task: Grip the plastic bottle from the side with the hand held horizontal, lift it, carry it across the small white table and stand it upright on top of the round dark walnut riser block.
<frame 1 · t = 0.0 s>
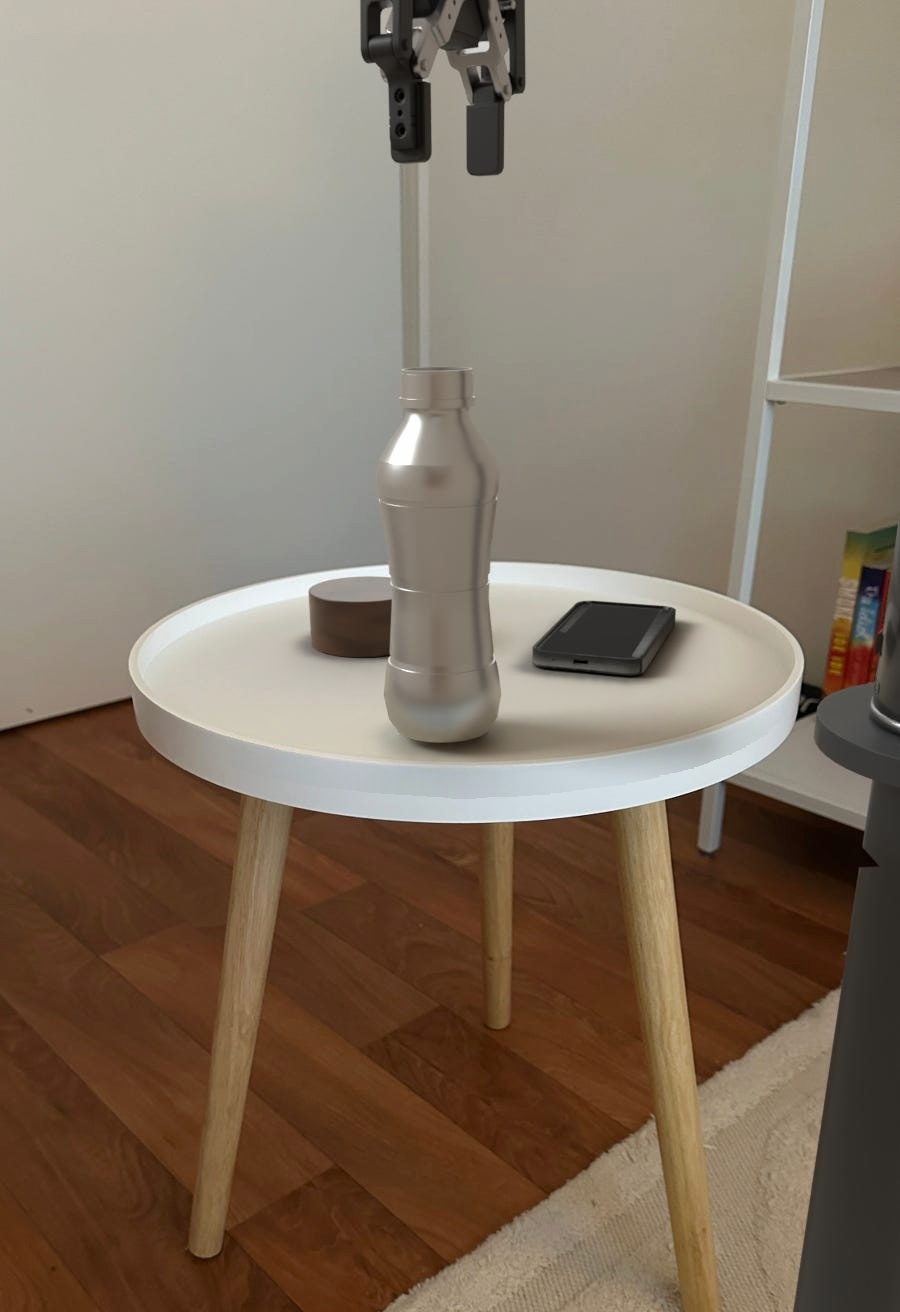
hand: (450, 169, 67), 30 cm above the table, tool pointing down, fingers open, 8 cm apart
walnut riser: (365, 642, 86), on the table
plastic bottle: (442, 739, 67), on the table
phone: (606, 644, 84), on the table
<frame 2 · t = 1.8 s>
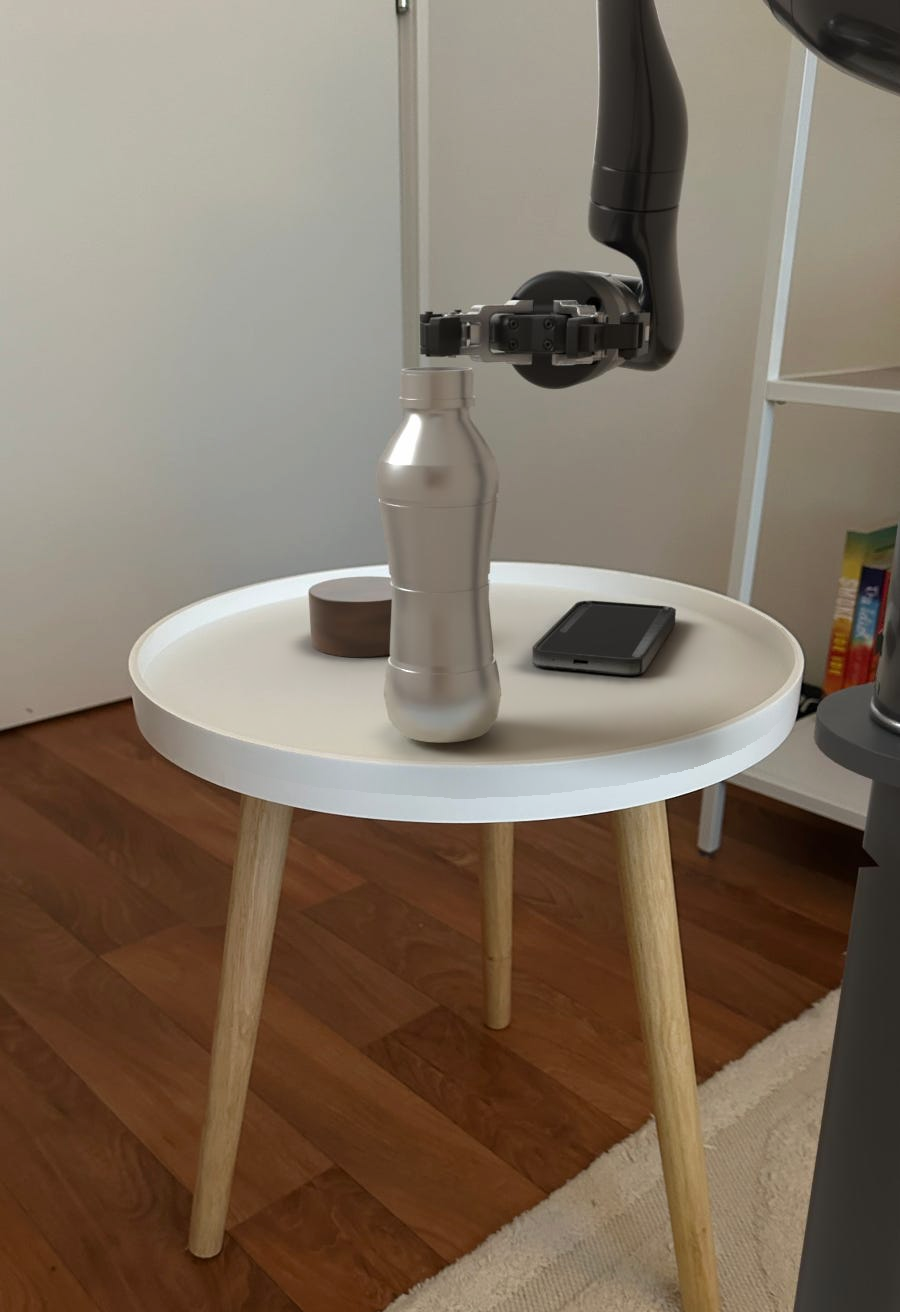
hand: (502, 338, 68), 21 cm above the table, tool horizontal, fingers open, 8 cm apart
nothing on the table moved.
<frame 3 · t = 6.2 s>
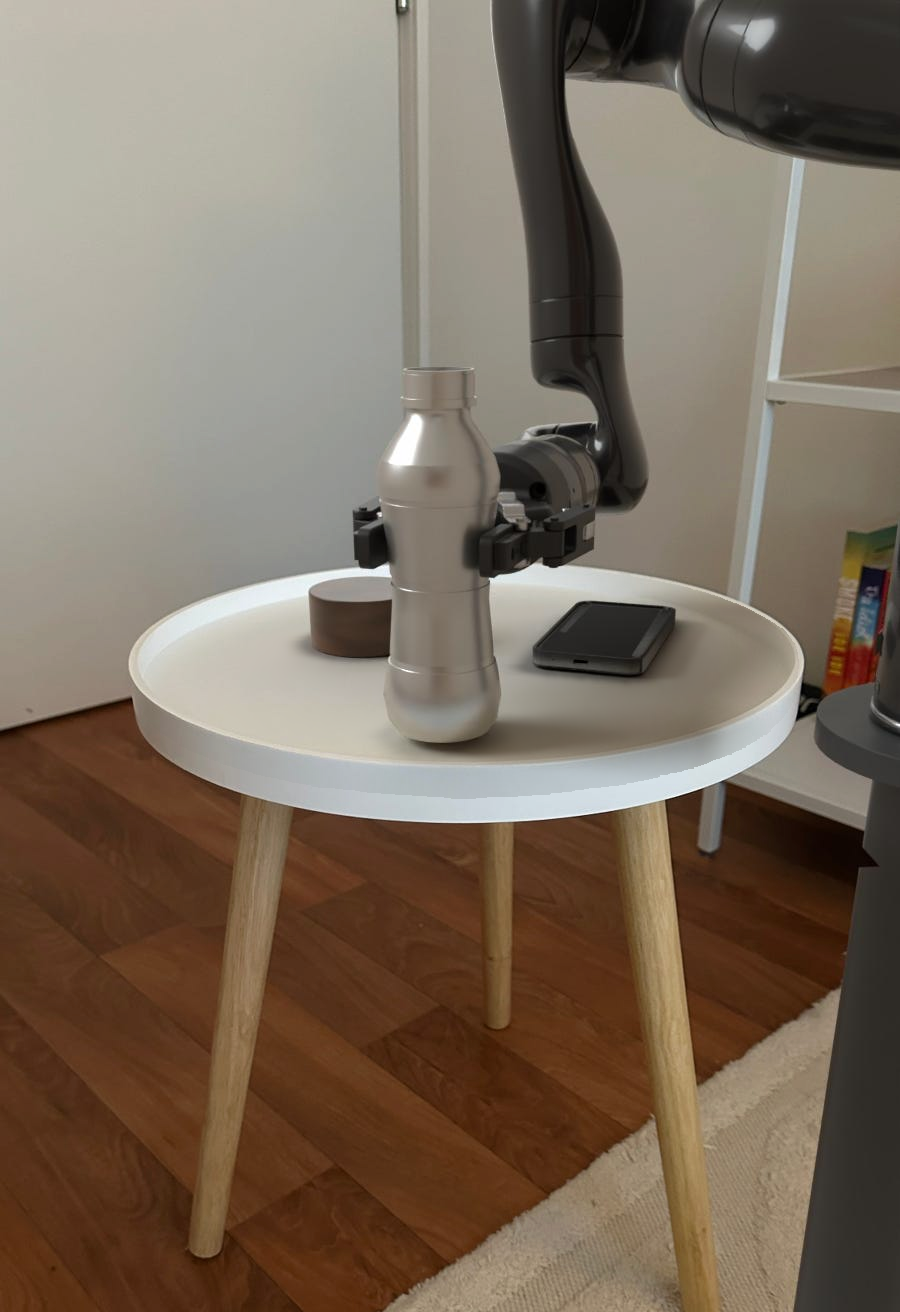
hand: (424, 554, 61), 11 cm above the table, tool horizontal, fingers closed on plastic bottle, 6 cm apart
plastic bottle: (442, 739, 67), on the table, touching gripper
everything else where it was.
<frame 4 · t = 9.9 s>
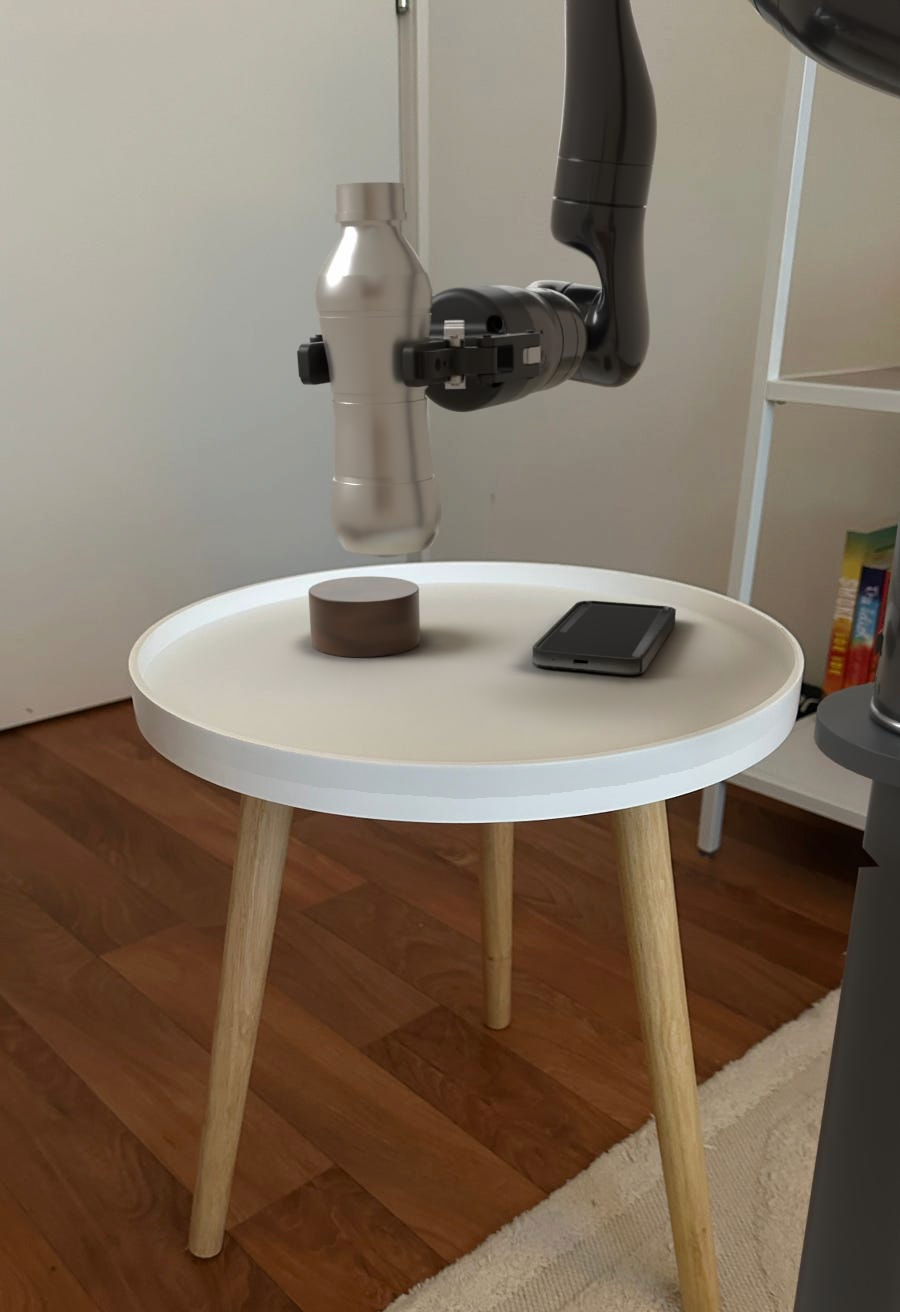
hand: (356, 365, 64), 20 cm above the table, tool horizontal, fingers closed on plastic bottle, 6 cm apart
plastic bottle: (387, 558, 71), point 9 cm above the table, touching gripper
everything else where it was.
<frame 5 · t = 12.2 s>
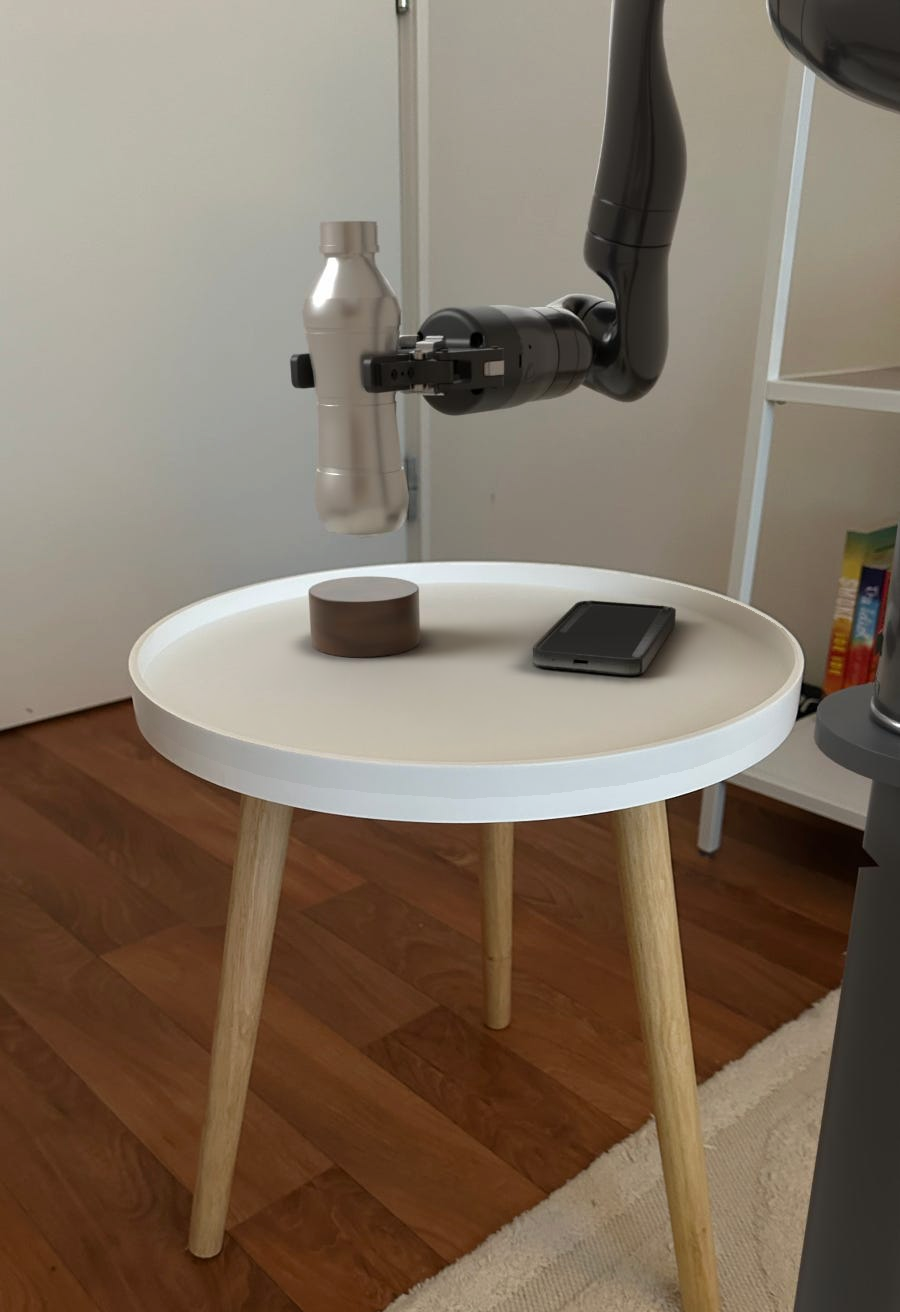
hand: (330, 373, 76), 19 cm above the table, tool horizontal, fingers closed on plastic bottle, 6 cm apart
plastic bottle: (363, 538, 83), point 8 cm above the table, touching gripper
everything else where it was.
when the fingers open (15 cm above the table, at t = 13.9 s): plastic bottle stays where it is, resting on walnut riser.
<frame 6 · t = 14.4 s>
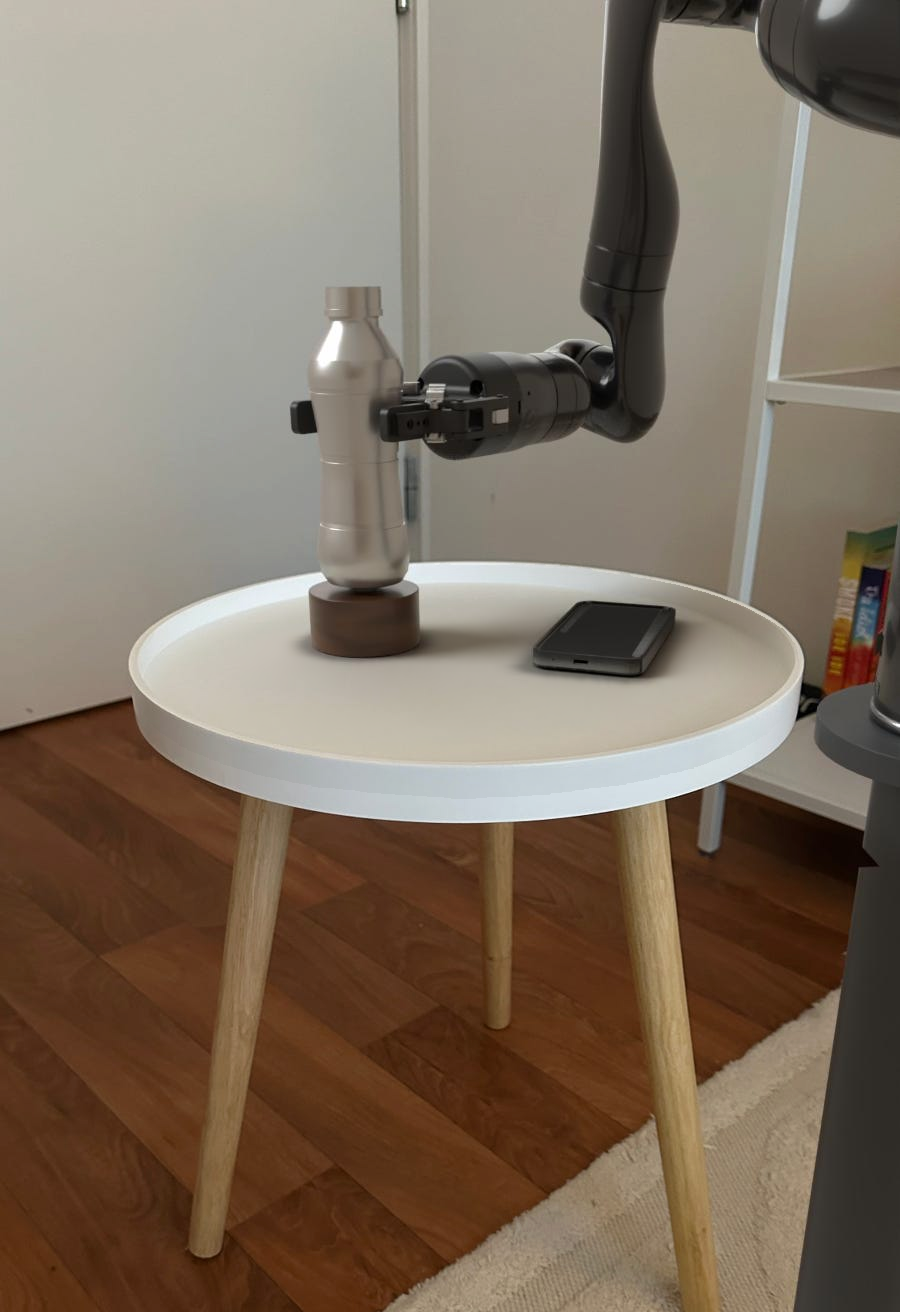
hand: (337, 421, 78), 16 cm above the table, tool horizontal, fingers open, 8 cm apart
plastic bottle: (365, 590, 84), point 4 cm above the table, touching walnut riser
everything else where it was.
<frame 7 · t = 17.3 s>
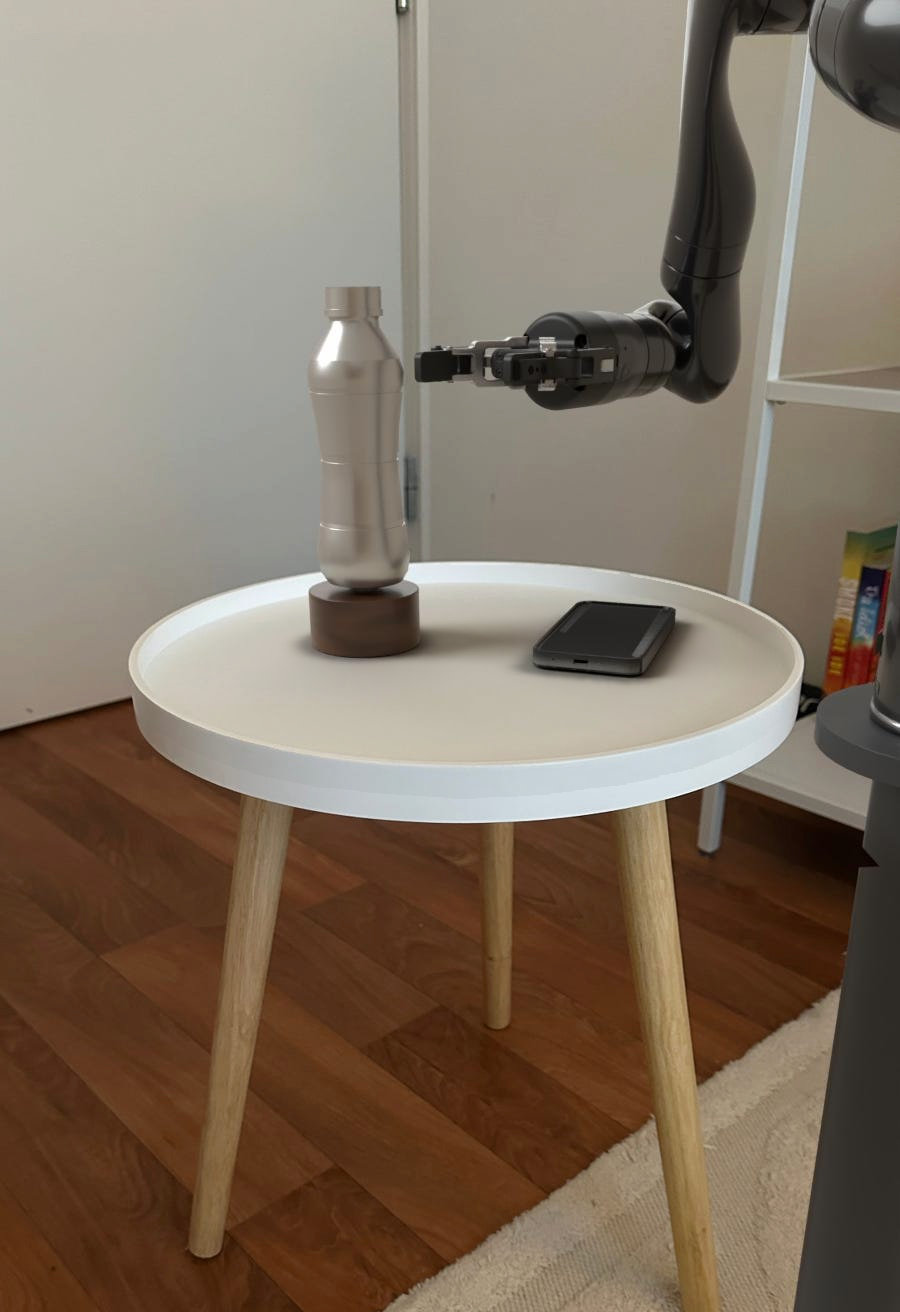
hand: (461, 369, 85), 18 cm above the table, tool horizontal, fingers open, 8 cm apart
nothing on the table moved.
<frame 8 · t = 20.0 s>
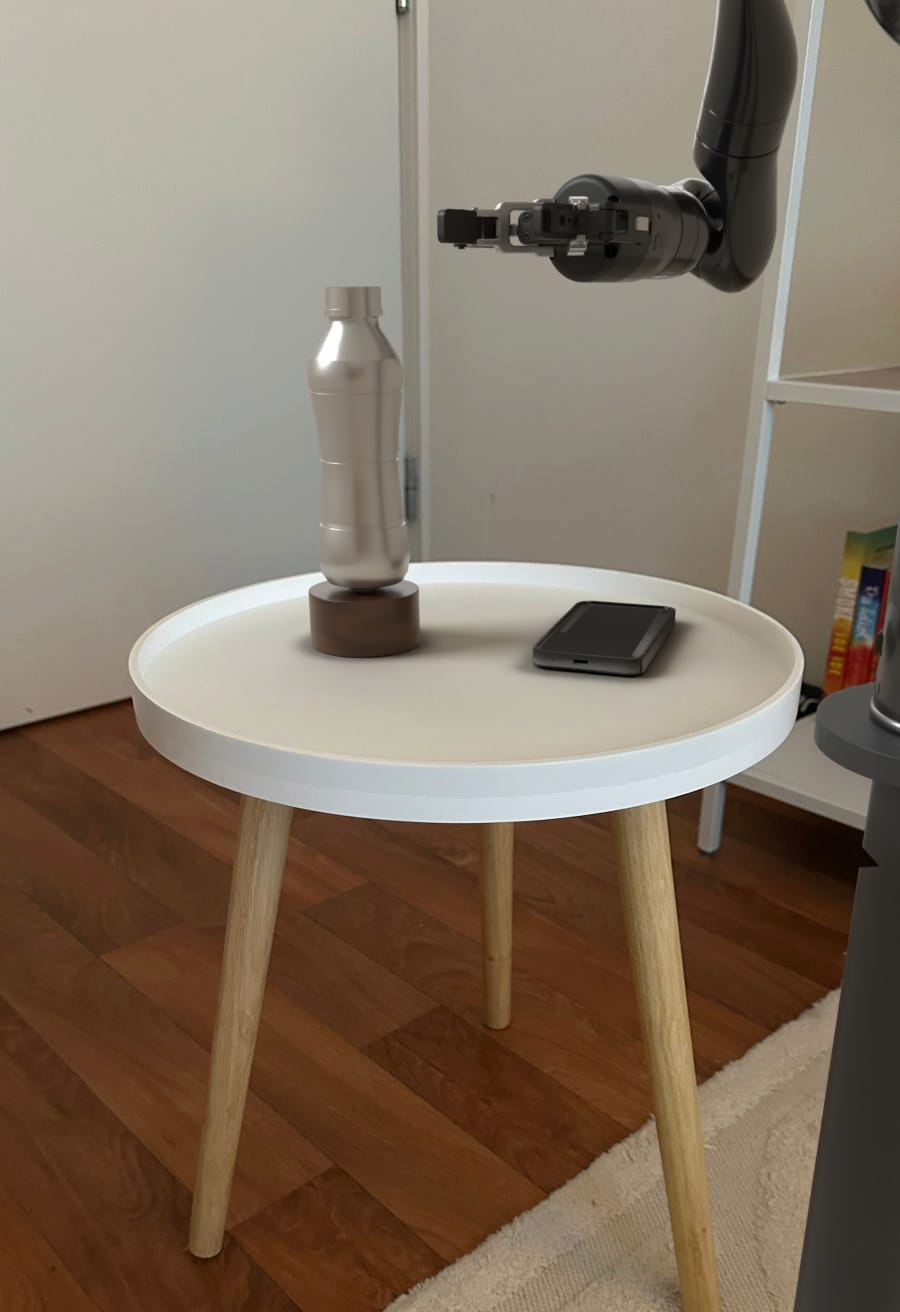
hand: (487, 223, 80), 28 cm above the table, tool horizontal, fingers open, 8 cm apart
nothing on the table moved.
at the end: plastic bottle 0.1 cm off-centre on the walnut riser, point 3.8 cm above the walnut riser's base; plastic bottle tilted 0°; the gripper is holding nothing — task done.
